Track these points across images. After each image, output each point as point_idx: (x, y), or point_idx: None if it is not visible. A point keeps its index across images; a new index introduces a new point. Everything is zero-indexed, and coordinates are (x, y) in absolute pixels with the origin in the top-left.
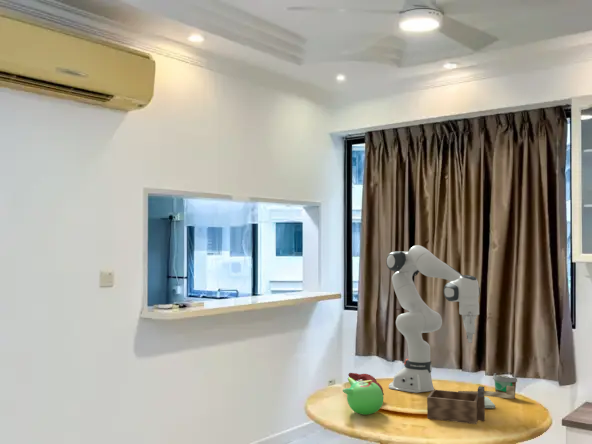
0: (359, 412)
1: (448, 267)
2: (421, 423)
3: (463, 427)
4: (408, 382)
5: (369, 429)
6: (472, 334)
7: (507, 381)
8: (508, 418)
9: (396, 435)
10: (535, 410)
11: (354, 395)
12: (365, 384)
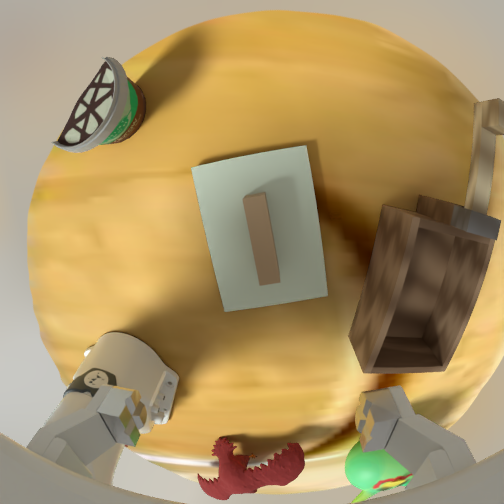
0: None
1: None
2: None
3: None
4: (155, 404)
5: (462, 405)
6: (468, 453)
7: (126, 89)
8: (396, 121)
9: (493, 365)
10: (278, 27)
11: None
12: (410, 477)
